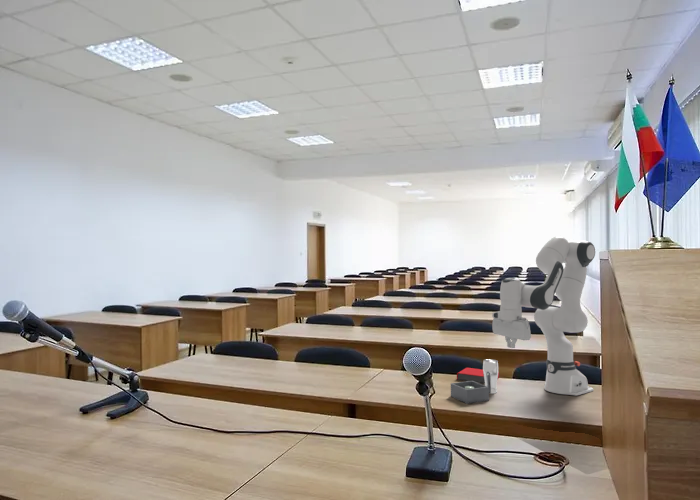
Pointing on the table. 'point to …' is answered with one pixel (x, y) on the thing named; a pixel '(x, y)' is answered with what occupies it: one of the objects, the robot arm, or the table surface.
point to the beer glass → (490, 374)
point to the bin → (469, 392)
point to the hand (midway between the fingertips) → (511, 347)
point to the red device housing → (472, 375)
